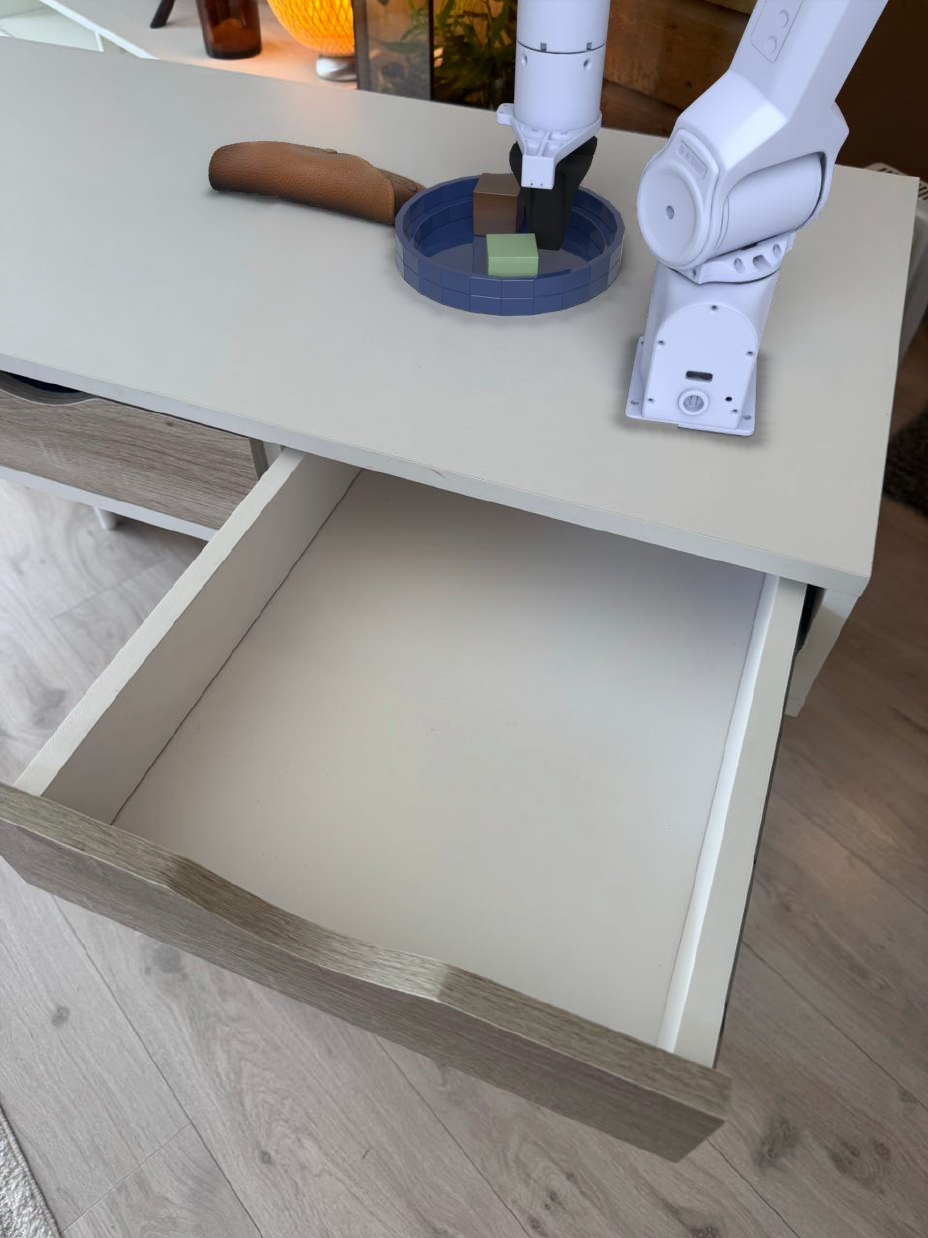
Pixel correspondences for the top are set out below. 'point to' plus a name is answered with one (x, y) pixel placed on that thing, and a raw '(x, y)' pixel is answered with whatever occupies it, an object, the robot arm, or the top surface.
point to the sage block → (511, 255)
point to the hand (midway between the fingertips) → (547, 245)
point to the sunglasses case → (311, 178)
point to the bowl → (456, 259)
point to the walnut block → (497, 205)
